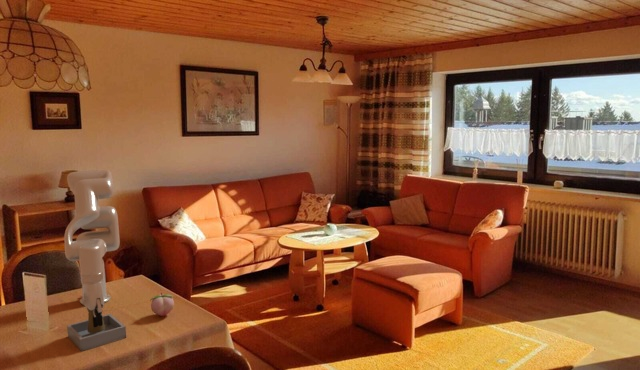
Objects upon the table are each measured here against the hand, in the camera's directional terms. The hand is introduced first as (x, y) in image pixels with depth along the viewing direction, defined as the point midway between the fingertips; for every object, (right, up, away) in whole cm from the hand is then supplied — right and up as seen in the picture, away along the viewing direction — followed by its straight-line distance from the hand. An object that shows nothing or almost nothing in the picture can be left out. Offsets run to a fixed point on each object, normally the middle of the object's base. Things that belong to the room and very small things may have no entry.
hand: (95, 323), depth 189 cm
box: (0, -5, +1) cm, 5 cm away
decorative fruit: (+19, -2, +20) cm, 28 cm away
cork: (0, -3, 0) cm, 2 cm away
